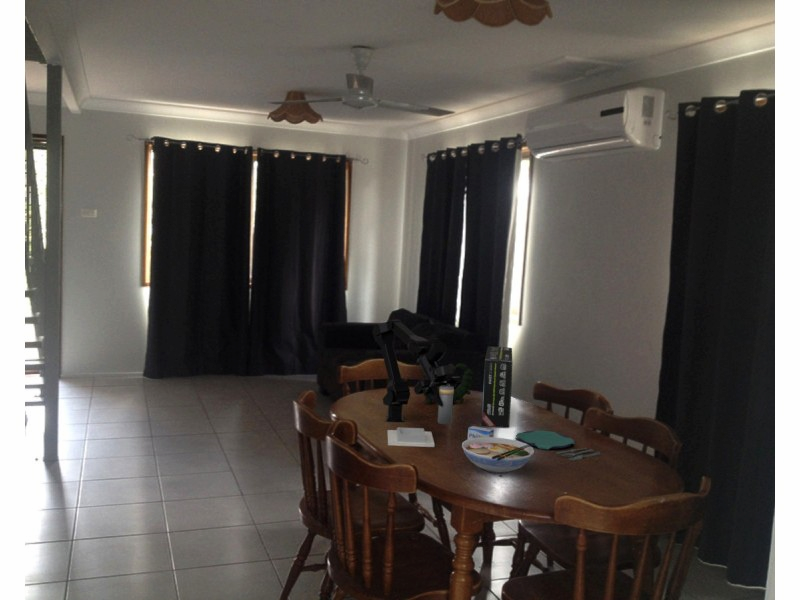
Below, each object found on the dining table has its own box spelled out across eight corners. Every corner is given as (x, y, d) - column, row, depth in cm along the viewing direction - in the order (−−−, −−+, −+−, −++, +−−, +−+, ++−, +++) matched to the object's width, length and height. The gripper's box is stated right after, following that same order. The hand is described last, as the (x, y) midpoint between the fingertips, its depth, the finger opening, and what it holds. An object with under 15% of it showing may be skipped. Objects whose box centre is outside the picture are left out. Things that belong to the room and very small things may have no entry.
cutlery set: (546, 433, 276) (546, 427, 276) (605, 456, 251) (606, 450, 250) (505, 439, 266) (506, 433, 265) (563, 464, 240) (564, 457, 240)
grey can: (437, 420, 261) (439, 384, 260) (451, 420, 261) (453, 385, 260) (437, 423, 256) (439, 387, 255) (452, 424, 256) (454, 388, 255)
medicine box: (466, 452, 245) (467, 427, 244) (471, 449, 249) (472, 425, 248) (488, 457, 241) (489, 431, 241) (492, 453, 245) (494, 428, 245)
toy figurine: (463, 404, 324) (410, 399, 317) (469, 362, 323) (416, 357, 316) (471, 409, 315) (416, 405, 308) (477, 366, 314) (423, 361, 307)
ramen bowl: (487, 453, 245) (488, 430, 244) (547, 469, 231) (549, 444, 230) (443, 469, 226) (445, 444, 225) (507, 488, 211) (508, 461, 211)
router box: (483, 405, 316) (487, 345, 313) (508, 408, 314) (512, 347, 312) (480, 426, 280) (484, 358, 278) (509, 429, 279) (513, 360, 277)
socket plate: (387, 432, 265) (388, 423, 265) (431, 434, 266) (431, 425, 265) (388, 445, 249) (388, 435, 249) (434, 447, 250) (434, 437, 249)
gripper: (420, 357, 254) (438, 395, 246) (461, 354, 265) (479, 390, 257) (406, 375, 261) (423, 412, 253) (446, 372, 272) (463, 407, 264)
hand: (448, 405), depth 257 cm, fingers closed on grey can, 5 cm apart
